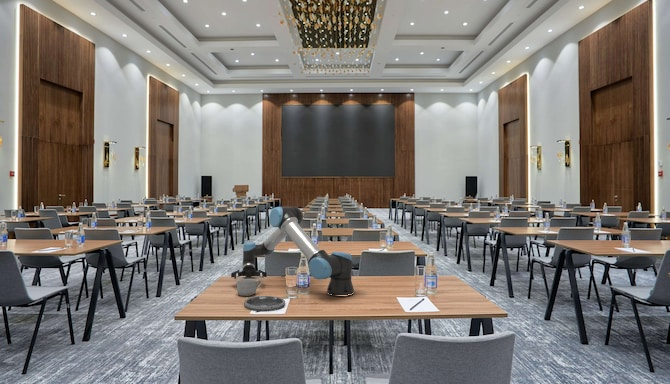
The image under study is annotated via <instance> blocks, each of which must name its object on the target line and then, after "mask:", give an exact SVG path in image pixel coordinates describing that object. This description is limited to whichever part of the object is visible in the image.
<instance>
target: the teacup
mask: <svg viewBox="0 0 670 384" xmlns="http://www.w3.org/2000/svg"><path fill="white" fill-rule="evenodd" d="M235 282H236V291H237V294H238V295H240V296H242V297H249V296H253V295H254V294H255V293H256V292H257V289H259V287H261V285H262V280H261V279H254V278H243V279H238V281H236V280H235ZM257 283H258V284H257Z"/></svg>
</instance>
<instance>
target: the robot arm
mask: <svg viewBox="0 0 670 384" xmlns="http://www.w3.org/2000/svg"><path fill="white" fill-rule="evenodd" d="M268 220H269V223H270V226H271V227H273V228H276V229H275V230H274V231H273V232H272V233H271V235H269V237H268V238H266V240H265V241H263V243H260V244H256V242H253V241H247V242H244V243H243V246H242V269H241V270H240V269H237V270H235V271H233V272H231V274H230V276H231V278H233V279H234V280H235V282H236V281H238V280H239V279H238V278H239V277H245V278H252V277H259V278H260V279H259V280H261V281H263V279H264V278H267V274H268V272H265V271H263V270H261V269H258V270H256V267H255V266H256V265H255V264H256V257H262V256H269V255H270V256H271V255H273V254H274V251H275V248H277V246H278V245H279V244H280V243H281V242H282V241H283V240H284V239H285V238H286V237H289V238H290V239H291V241H292V242H293V243H294V244H295V246H296V247H297V248H298V249H299V251H300V252H301V253H302V254H303V255H304V257H305V258H306V260H307V265H308V267H307V269H308V271H309V274H310V275H311V277H312V278H313V279H316V280H327V279H330V281H329V283H328V286H327V288H326V294H327V293H329V294H332V295H348V294H352V293H353V292H354V293H355V288H354V285H353V282H352V273H353V271H352V270H353V268H352V267H353V256H352V253H348V252H342V251H341V252H340V251H331V253H330V255H329V254H328V253H327V252H326V251H325V249H320V247H319V246H318V245H317V244H316V242H314V241H313V239H311V237H310V236H309V235H308V234H307V233H306V232H305V230H304V229H303V228H302V226H301V225H302V223H303V220H304V213H303V211H302V210H301V209H300V208H299V207H297V206H277V207H273V208H272V209H271V211H270V212H269V219H268Z"/></svg>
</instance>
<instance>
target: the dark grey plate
mask: <svg viewBox="0 0 670 384" xmlns="http://www.w3.org/2000/svg"><path fill="white" fill-rule="evenodd" d="M243 307H244V308H245V309H246V310H249V311H254V312H272V311H278V310H282V309H283V308H285V307H286V302H285V299H284V298H282V297H280V296H279V297H278V296H272V295H259V296H253V297H249V298H247V299H245V300H244V304H243Z"/></svg>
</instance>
